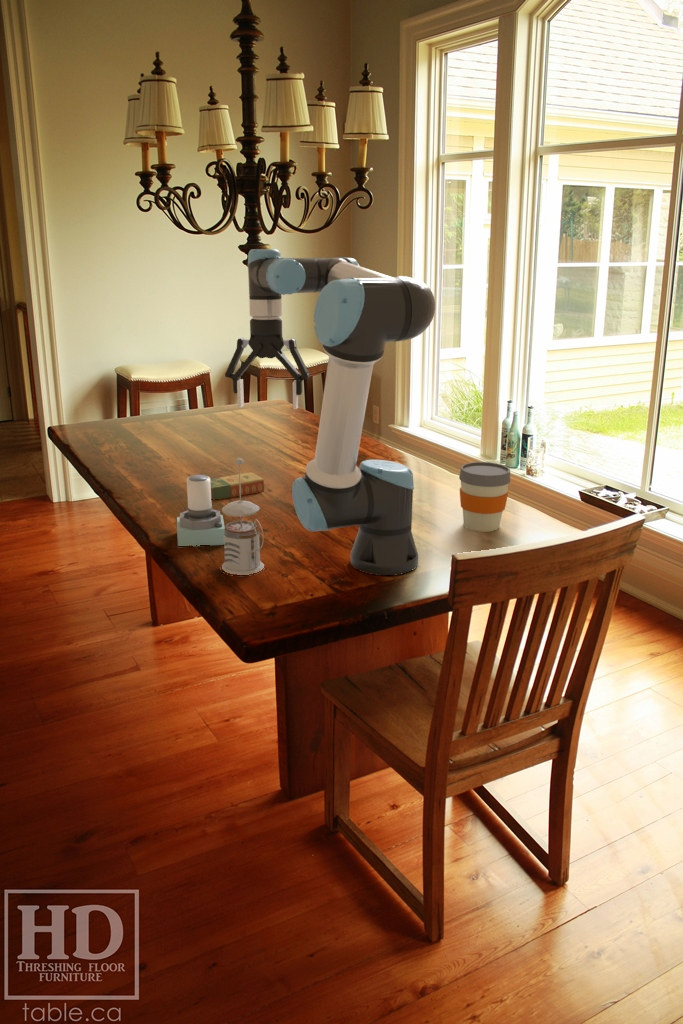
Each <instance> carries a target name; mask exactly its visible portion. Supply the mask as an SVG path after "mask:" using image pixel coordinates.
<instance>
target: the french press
mask: <svg viewBox="0 0 683 1024" xmlns="http://www.w3.org/2000/svg"><path fill="white" fill-rule="evenodd" d="M244 461H245V460H244V459H243V458H240V457H238V458H236V459H235V460H234V464H235V465H238V474H239V487H240V496H239V500H235V501H231V502H229V503H227V504H225V506H224V505H223V507H222V508H221V512H222V513H223V514H224V515H226V516H228V517H235V518H236V517H238V518H240V520H234V521H231V522H228V523H227V524H226V525H224V527H225V532H224V543H225V545H224V546H223V547H224V548H223V549H224V553H223V554H224V562H223V563H222V565H221V566H222V569H223V570H224V571H225V572H227V573H230V574H237V575H249V574H253V573H257V572H259V571H261V570H262V569H263V568H264V566H265V564H264V563H263V562H262V561H261V549H262V548H263V546H264V542H265V540H264V539H265V538H264V537H265V536H264V530H263V527H262V526H263V525H262V524H261V522H260V521H259V520H258V518H254V519H253V520H254V522H253V521H251V520H249V519H248V520H243V519H242V517H243V518H244V517H249V516H253V515H255V514H257V513H258V512H259V511H260V506H259V505H257V504H255V503H253V502H252V501H250V500H249V501H248V500H242V495H241V483H240V474H241V465H244V464H245V462H244ZM256 522H257V523H256ZM258 524H259V526H258ZM258 527H260V529H261V533H262V542H260V531H259V529H258ZM252 535H255V536H253V537H250V538H249V536H252ZM242 537H248V538H242ZM252 541H253V542H252ZM260 543H261V546H260ZM252 546H253V547H252ZM264 569H265V568H264ZM264 569H263V570H264ZM261 572H262V571H261ZM259 573H260V572H259ZM257 574H258V573H257ZM249 576H250V575H249Z"/></svg>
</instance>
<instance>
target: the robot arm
mask: <svg viewBox="0 0 683 1024" xmlns="http://www.w3.org/2000/svg"><path fill="white" fill-rule="evenodd" d="M247 256H248V257H247V270H248V271H247V273H248V274H247V275H248V293H249V294H248V297H249V299H248V300H249V301H248V303H249V316H250V317H252V318H251V319H250V320H249V334H250V337H249V339H247V338H246V339H245V338H244V337H240V338H238V339H237V340H236V348H235V351H234V353H233V356H232V358H231V360H230V362H229V365H228V367H227V369H226V372H225V374H224V375H225V378H229V379H230V380H232V381H233V382H232V386H233V388H232V389H233V391H232V392H233V393H234V394H237V408H238V409H241V408H243V407H244V406H245V401H244V399H245V398H244V395H245V394H244V379H243V378H241V377H242V376H243V374H244V373H245V372H246V371H247V370H248V368H249V367H250V366H251V364H253V362H254V360H255V359H256V358H257V357H258V359H264V358H266V359H273V358H276V359H277V360H278V361H279V362H280V363H281V365H282V367H284V368H285V369H286V371H287V372H288V373H289V374H290V375H291V377H292V378H293V380H294V381H292V409H293V410H298V408H299V396H301V395H302V394H303V381H305V380H308V379H309V378H310V376H311V374H310V372H309V370H308V368H307V366H306V363H305V362H304V360H303V358H302V356H301V354H300V352H299V350H298V347H297V340H296V339H295V338H291V339H286V340H285V339H284V338H283V320H282V318H280V317H282V316H283V311H282V310H283V308H282V307H283V306H282V305H283V303H282V301H283V300H282V296H284V295H292V294H306V293H308V294H309V293H311V294H313V293H319V294H318V296H317V299H316V303H315V306H314V313H313V321H314V323H315V325H314V333H315V335H316V338H317V340H318V342H320V343H321V344H322V349H323V351H324V353H326V355H327V356H328V361H327V362H328V363H327V368H326V369H327V370H326V375H325V382H324V391H323V397H322V403H321V412H320V418H319V425H318V433H317V439H316V445H315V454H314V458H313V459H311V460H310V461H308V462H307V464H306V466H305V473H304V477H302V476H299V477H298V478H295V480H294V481H293V482H292V485H291V487H292V489H291V494H292V502H293V506H294V509H295V514H296V515H297V517H298V520H299V521H300V522H299V523H301V525H302V526H303V527H304V529H306V530H307V531H309V532H314V533H315V532H323V531H324V532H327V531H328V530H329V531H330V530H334V529H340V528H341V529H342V528H348V527H355V526H358V531H357V534H356V536H355V539H354V543H353V546H352V548H351V551H350V564H352V565H353V566H354V567H355V568H357V569H359V570H361V571H364V572H367V573H372V574H377V575H376V576H380V575H393V576H396V575H395V574H401V573H405V572H408V571H411V570H412V569H414V568H415V567H416V566H417V565H419V553H418V549H417V546H416V543H415V539H414V535H413V533H412V527H413V526H412V523H413V522H412V521H413V501H414V500H413V498H414V497H413V496H414V489H415V487H414V474H413V471H412V469H411V468H410V467H408V466H407V465H404V464H402V463H399V462H395V461H391V460H385V459H365V460H363V461H361V462H360V463H359V465H358V466H357V461H358V455H359V450H360V444H361V439H362V433H363V425H364V421H365V414H366V409H367V404H368V398H369V392H370V387H371V381H372V375H373V369H374V365H375V364H376V362H379V361H380V360H382V358H383V357H384V352H385V348H386V343H393V342H405V341H409V340H412V339H415V338H417V337H418V336H420V335H421V334H423V333H424V332H425V331H426V330H427V329H428V328H429V326H430V325H431V323H432V321H433V319H434V317H435V312H436V300H435V295H434V293H433V291H432V290H431V289H430V288H429V286H428V285H427V284H426V283H425V282H423V281H422V280H420V279H416V278H413V277H411V276H406V275H399V276H395V277H393V276H390V275H387V274H384V273H380V272H377V271H375V270H372V269H369V268H366V267H364V266H360V264H359V263H358V260H357V259H355V258H352V257H344V256H339V257H338V256H337V257H318V258H317V257H282V256H281V252H280V250H279V249H277V248H273V249H272V248H271V249H270V248H269V249H268V248H267V249H266V248H264V249H263V248H260V249H259V248H256V249H255V248H254V249H252V248H251V249H250V250H249V252H248V255H247ZM248 346H249V347H250V349H251V350H252V351H251V352H250V353H249V355H248V357H247V358H246V359H245V360H244V361H243V363H242V364H241V365H240V366H239V368H238V369H237V371H236V372H235V370H236V368H237V366H238V363H239V362H240V360H241V357H242V354H243V352H244V349H246V348H247V347H248ZM284 346H285V347H286V349H288V350H289V352H290V353H291V356H292V359H293V360H294V362H295V364H296V366H297V368H298V369H297V368H296V367H295V366H294V365H293V364H292V362H291V361H290V360H289V359H288V357H287V356H286V354H285V353H284V352H283V351H282V349H283V348H284ZM298 370H299V371H298ZM352 565H351V566H352ZM353 566H352V567H353ZM354 567H353V568H354ZM417 567H418V566H417ZM417 567H416V568H417ZM355 568H354V569H355ZM416 568H415V569H416ZM357 569H356V570H357ZM415 569H414V570H415ZM359 570H358V571H359ZM361 571H360V572H361ZM364 572H363V573H364ZM411 572H412V571H411ZM367 573H366V574H367ZM408 573H409V572H408ZM372 574H371V575H372ZM405 574H406V573H405ZM401 575H402V574H401Z"/></svg>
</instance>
